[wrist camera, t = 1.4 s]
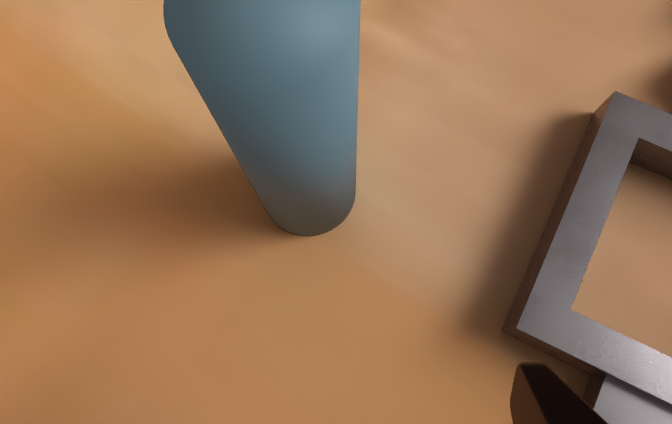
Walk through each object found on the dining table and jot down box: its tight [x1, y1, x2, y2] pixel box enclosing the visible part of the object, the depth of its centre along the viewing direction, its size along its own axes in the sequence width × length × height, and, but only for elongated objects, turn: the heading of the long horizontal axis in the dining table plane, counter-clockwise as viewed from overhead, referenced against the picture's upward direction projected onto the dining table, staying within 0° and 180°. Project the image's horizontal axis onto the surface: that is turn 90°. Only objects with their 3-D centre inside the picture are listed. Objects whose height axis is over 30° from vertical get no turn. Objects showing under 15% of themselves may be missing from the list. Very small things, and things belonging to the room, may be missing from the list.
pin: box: [164, 0, 360, 236], centre depth 18 cm, size 4×4×13 cm
